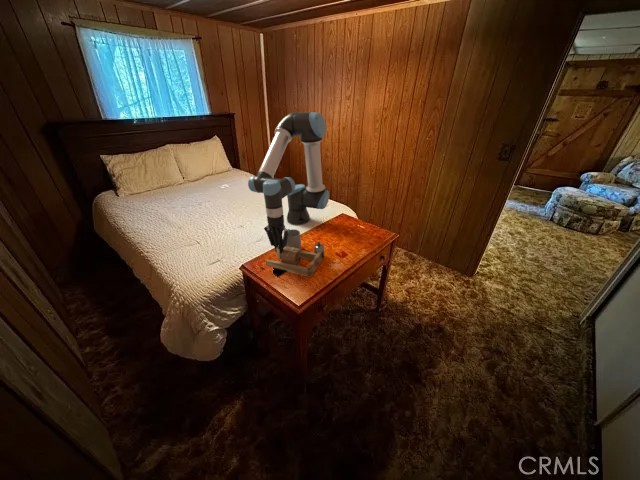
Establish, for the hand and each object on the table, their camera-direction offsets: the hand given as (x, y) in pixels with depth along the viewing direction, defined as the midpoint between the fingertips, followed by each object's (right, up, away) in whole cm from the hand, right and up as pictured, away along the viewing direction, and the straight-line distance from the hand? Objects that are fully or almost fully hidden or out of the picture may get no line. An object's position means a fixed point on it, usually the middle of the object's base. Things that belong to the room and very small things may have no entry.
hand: (280, 257), depth 127 cm
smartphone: (-3, -5, -4) cm, 7 cm away
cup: (+6, +4, +10) cm, 12 cm away
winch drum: (+20, +1, +4) cm, 20 cm away
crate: (+6, -3, -1) cm, 6 cm away
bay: (+7, -3, -1) cm, 7 cm away
